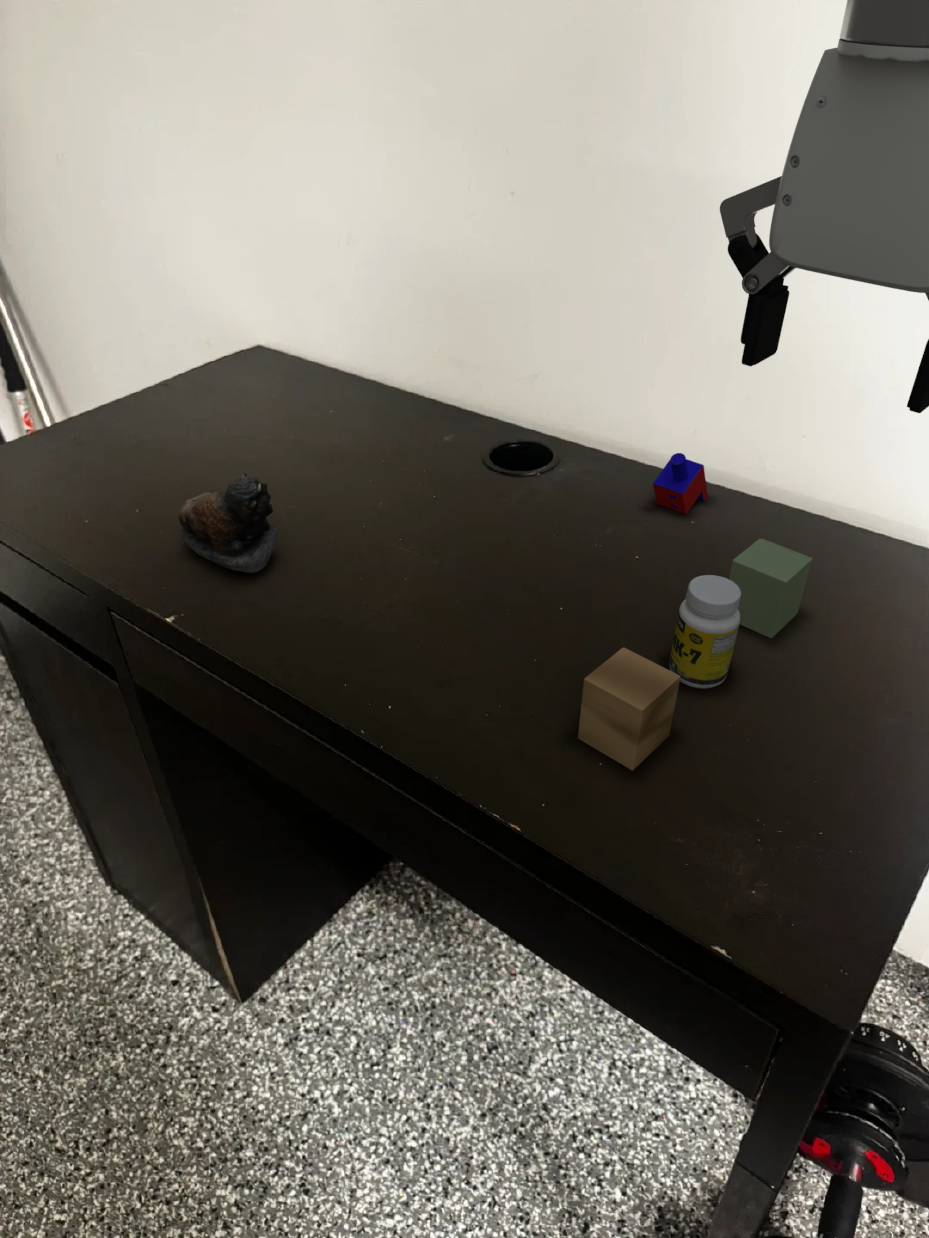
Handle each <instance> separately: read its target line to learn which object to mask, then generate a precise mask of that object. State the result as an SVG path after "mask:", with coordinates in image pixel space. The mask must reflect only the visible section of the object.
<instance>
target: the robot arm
mask: <svg viewBox="0 0 929 1238" xmlns="http://www.w3.org/2000/svg"><path fill="white" fill-rule="evenodd" d="M841 24H842V25H841V28H840V29H841V30H840V33H839V39H838V43H837V47H833V48H828V49H824V51H823V52H822V53H823V54H822V56H821V58H820V60H819V63H818V65H817V67H816V70H815V72H814V75H813V77H812V81H811V83H810V85H809V88H808V91H807V93H806V96H805V98H804V102H803V105H802V107H801V110H800V113H799V116H798V118H797V121H796V122H797V123H796V125H795V128H794V132H793V135H792V138H791V142H790V145H789V148H788V151H787V155H786V158H785V163H784V166H783V170H782V174H781V176H778V177H775V178H773V179H770V180H768V181H766V182H764V183H761V184H758V185H755V186H754V187H751V188H749V189H747V190H744V191H742V192H740V193H737V194H735V195H731V196H729V197H727V198H725V199H723V200H722V201H721V202H720V205H719V214H720V217H721V218H720V219H721V222H722V225H723V230H724V233H725V237H726V239H727V241H728V245H727V253H728V256H729V257H730V259H731V261H732V262H733V264H734V266H735V267H736V269H737V271H738V273H739V275H740V276H741V278H742V280H741V287H742V290H743V291H744V292H745V294H747V295H748V297H747V302H746V307H745V313H744V318H743V323H742V330H741V334H740V343H741V344H742V345H743V346H744V347H743V351H742V355H741V364H742V365H743V366H747V367H754V366H756V365H758V364H759V363H762V362H763V361H765V360H767V359H769V358H770V357H772V356H774V355H775V354H776V353H777V352H778V349H779V343H780V339H781V335H782V331H783V325H784V321H785V315H786V311H787V307H788V302H789V298H790V290H789V285H786V284H784V281H785V279H786V277H788V276H789V275H791V273H792V272H794V271H795V270H796V269H799V270H802V271H803V270H804V271H807V272H812V273H816V274H822V275H826V276H831V277H836V278H840V279H844V280H849V281H854V282H855V281H856V282H859V283H863V284H864V283H865V284H869V285H875V286H878V287H879V286H880V287H883V288H884V287H885V288H889V289H895V290H900V291H906V292H912V293H917V294H918V293H919V294H925V296H926V298H927V301H929V0H846V5H845V10H844V14H843V19H842V23H841ZM772 206H774V207H773V211H772V216H771V223H770V229H769V236H768V237H769V239H768V240H769V241H768V246H769V250H770V252H769V251H768V249H767V247H766V245H765V244H764V242H763V240H762V239H761V237H760V235H759V234H758V233H756V229H755V228H756V223H755V218H756V215H757V214H758V213H759V211H762V210H765V209H766V208H767V209H768V208H770V207H772ZM928 407H929V338H928V339H927V341H926V343H925V347H924V350H923V353H922V357H921V359H920V362H919V366H918V369H917V372H916V375H915V378H914V382H913V385H912V387H911V391H910V395H909V397H908V401H907V404H906V408H908V410H909V411H910V412H913V413H917V414H921V413H923V412H924V411H925V410H926V409H927V408H928Z"/></svg>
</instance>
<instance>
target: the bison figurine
mask: <svg viewBox="0 0 929 1238" xmlns="http://www.w3.org/2000/svg"><path fill="white" fill-rule="evenodd" d="M242 474H243V475H242V476H241V477H238V478H236V479H234V480H233V481H232V482H230V484H229V485H227V487H226V491H225V492H224V491H219V490H217V491H214V492H202V493H201V494H199V495H197V496H194V497H192V498H189V499H186V500H185V501H184V503H183V505H182V506H181V508H180V509H179V511H178V514H177V517H178V522H179V524H180V525H181V527H180V528H179V530H178V533H179V535H180V537H181V539H182V540H183V541H184V542H185V544H186V545H187V546H188V547H189V548H190V549H191V550H192V551H194V552H195V553H196V554H197V555H198V556H201V557H202V558H204V559H206V560H208V561H210V562H211V563H212V562H213V563H215V564H216V565H219V566H221V567H223V568H226V569H230V570H232V571H236V572H241V573H248V574H255V573H258V572H259V571H262V570H263V569H264V568H265V567H266V566H267V564H268V563H269V560H270V558H271V556H272V554H273V553H274V551H275V548H276V545H277V539H278V527H277V526H275V525H272V524H270V523H269V521H268V519H267V517H269V516H270V515H272V514H273V512H274V509H273V504H272V503H270V502H271V498H272V496H271V494H270V493H269V491H268V483H266V482H261V480H260V479H259V478H257V477H255V476H248V475H247V473H246V472H243V473H242Z"/></svg>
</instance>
